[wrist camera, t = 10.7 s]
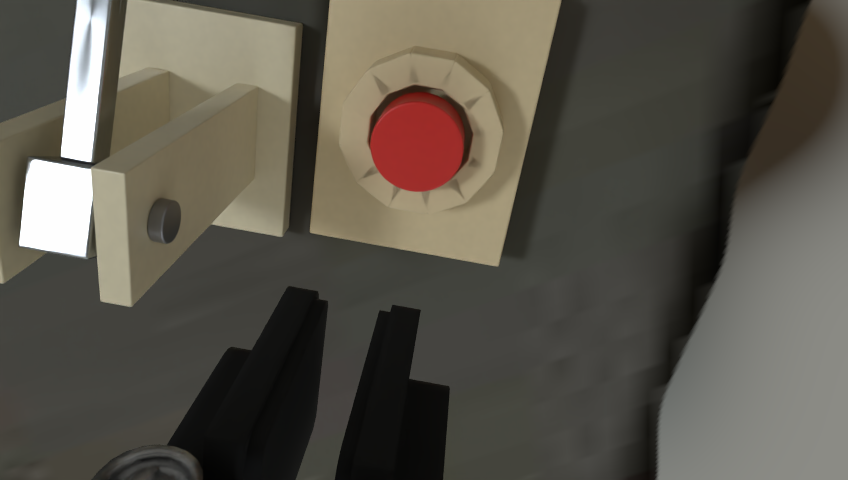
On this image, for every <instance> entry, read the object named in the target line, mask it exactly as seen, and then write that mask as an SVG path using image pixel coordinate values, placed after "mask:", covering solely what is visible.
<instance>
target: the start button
mask: <svg viewBox="0 0 848 480" xmlns="http://www.w3.org/2000/svg"><path fill="white" fill-rule="evenodd" d="M464 143H465V131H464V126H463V122H462V120H461V117H460V115H459V114H458V112H457V111H456V109H455V108H454V107H453V106H452V105H451V104H450V103H449V102H447V101H446V100H445V99H443V98H441V97H439V96H437V95H435V94H431V93H427V92H413V93H408V94H405V95H402V96H400V97H398V98H396V99H395V100H393V101H392V102H391V103H390V104H389V105H388V106H387V107H386V108H385V109H384V111H383V112H382V114H381V116H380V117H379V119H378V121H377V123H376V124H375V126H374V129H373V132H372V135H371V141H370V149H371V155H372V159H373V162H374V164H375V166H376V168H377V169H378V171H379V172H380V174H381V175H382V176H383V177H384V178H385V179H386V180H387V181H388V182H390V183H391V184H393V185H394V186H396V187H398V188H401V189H403V190H407V191H413V192H424V191H430V190H433V189H436V188H438V187H440V186H442V185H444V184H445V183H447V182H448V181H449V180H450V179H451V178H452V177H453V176H454V175H455V173H456V172H457V170H458V169H459V167H460V165H461V162H462V158H463V153H464Z"/></svg>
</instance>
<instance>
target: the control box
mask: <svg viewBox="0 0 848 480" xmlns="http://www.w3.org/2000/svg"><path fill="white" fill-rule="evenodd" d="M561 1H562V0H330V3H329V14H328V26H327V37H326V49H325V60H324V72H323V84H322V95H321V107H320V118H319V130H318V141H317V153H316V164H315V176H314V187H313V199H312V210H311V222H310V233H313V234H319V235H324V236H330V237H336V238H341V239H347V240H352V241H358V242H363V243H369V244H375V245H380V246H386V247H391V248H397V249H402V250H408V251H414V252H419V253H425V254H430V255H436V256H442V257H447V258H453V259H458V260H464V261H469V262H475V263H481V264H486V265H492V266H499V263H500V259H501V254H502V250H503V246H504V242H505V237H506V233H507V229H508V225H509V221H510V216H511V212H512V208H513V204H514V199H515V195H516V191H517V187H518V183H519V178H520V174H521V170H522V166H523V161H524V157H525V153H526V149H527V145H528V140H529V136H530V132H531V128H532V123H533V119H534V115H535V111H536V107H537V102H538V98H539V94H540V90H541V85H542V81H543V77H544V73H545V69H546V64H547V60H548V56H549V52H550V47H551V43H552V39H553V35H554V31H555V26H556V22H557V18H558V14H559V9H560V5H561ZM413 92H427V93H431V94H435V95H437V96H439V97H441V98H443V99H445V100H446V101H447V102H449V103H450V104H451V105H452V106H453V107H454V108H455V109H456V111H457V112H458V114H459V115H460V117H461V120H462V122H463V126H464V131H465V143H464V153H463V158H462V162H461V165H460V167H459V169H458V170H457V172H456V173H455V175H454V176H453V177H452V178H451V179H450V180H449V181H448V182H447V183H445V184H444V185H442V186H440V187H438V188H436V189H433V190H430V191H424V192H413V191H407V190H403V189H401V188H398V187H396V186H394V185H393V184H391V183H390V182H388V181H387V180H386V179H385V178H384V177H383V176H382V175H381V174H380V172H379V171H378V169H377V168H376V166H375V164H374V162H373V159H372V155H371V149H370V141H371V135H372V132H373V129H374V126H375V124H376V123H377V121H378V119H379V117H380V116H381V114H382V112H383V111H384V109H385V108H386V107H387V106H388V105H389V104H390V103H391V102H392V101H393V100H395V99H396V98H398V97H400V96H402V95H405V94H408V93H413Z"/></svg>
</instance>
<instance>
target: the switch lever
mask: <svg viewBox="0 0 848 480" xmlns="http://www.w3.org/2000/svg"><path fill="white" fill-rule="evenodd" d="M127 2H128V0H76V5H75V14H74V24H73V33H72V42H71V52H70V61H69V71H68V80H67V90H66V99H65V109H64V118H63V128H62V137H61V147H60V156H28V157H27V160H26V170H25V180H24V190H23V200H22V210H21V220H20V231H19V241H18V246H19V247H21V248H25V249H31V250H36V251H42V252H47V253H53V254H58V255H64V256H70V257H75V258H81V259H86V260H87V259H91V258H95V257H97V248H96V235H95V222H94V209H93V196H92V183H91V170H90V169H91V167H93V166H94V165H96V164H98V163H99V162H101V161H103V160H105V159H106V158H108V157H110V149H111V141H112V132H113V123H114V115H115V106H116V97H117V88H118V80H119V71H120V62H121V54H122V45H123V36H124V28H125V19H126V10H127Z"/></svg>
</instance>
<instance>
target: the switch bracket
mask: <svg viewBox="0 0 848 480" xmlns="http://www.w3.org/2000/svg"><path fill="white" fill-rule="evenodd" d="M302 32H303V24H302V23H297V22H292V21H286V20H280V19H275V18H269V17H263V16H258V15H252V14H246V13H241V12H235V11H229V10H224V9H218V8H212V7H207V6H201V5H195V4H190V3H184V2H178V1H173V0H128V2H127V10H126V19H125V28H124V36H123V45H122V54H121V62H120V71H119V80H118V88H117V97H116V106H115V115H114V123H113V132H112V141H111V149H110V157H108V158H106V159H105V160H103V161H101V162H99V163H98V164H96V165H94V166H93V167H91V169H90V170H91V183H92V196H93V209H94V222H95V235H96V248H97V261H98V274H99V287H100V300H101V301H102V302H107V303H112V304H118V305H123V306H129V307H132V306H133V305H134V304H135V303H136V302H137V301H138V300H139V299H140V298H141V297H142V296H143V294H144V293H145V292H146V291H147V290H148V289H149V288H150V287H151V286H152V285H153V284H154V283H155V282H156V281H157V280H158V279H159V278H160V277H161V276H162V275H163V274H164V273H165V271H166V270H167V269H168V268H169V267H170V266H171V265H172V264H173V263H174V262H175V261H176V260H177V259H178V258H179V257H180V256H181V255H182V254H183V253H184V252H185V251H186V250H187V249H188V247H189V246H190V245H191V244H192V243H193V242H194V241H195V240H196V239H197V238H198V237H199V236H200V235H201V234H202V233H203V232H204V231H205V230H206V229H207V228H208V227H209V226H210V225H211V224H212V225H218V226H223V227H229V228H235V229H240V230H246V231H251V232H257V233H262V234H268V235H274V236H279V237H282V236H283V235H284V233H285V232H286V230H287V229H288V227H289V217H290V202H291V188H292V174H293V160H294V146H295V132H296V117H297V103H298V89H299V75H300V61H301V47H302ZM65 99H66V98H65ZM65 99H63V100H60V101H57V102H55V103H52V104H49V105H47V106H44V107H42V108H39V109H36V110H34V111H31V112H28V113H26V114H23V115H21V116H18V117H15V118H13V119H10V120H7V121H5V122H2V123H0V283H5V282H7V281H8V280H9V279H11V278H12V277H14V276H15V275H16V274H18V273H19V272H21V271H22V270H23V269H25V268H26V267H28V266H29V265H30V264H32V263H33V262H35V261H36V260H37V259H39V258H40V257H41V256H43V255H44V254H46V253H47V252H42V251H36V250H31V249H25V248H21V247H19V246H18V241H19V231H20V220H21V210H22V200H23V190H24V180H25V170H26V160H27V157H28V156H60V147H61V137H62V128H63V118H64V109H65Z"/></svg>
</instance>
